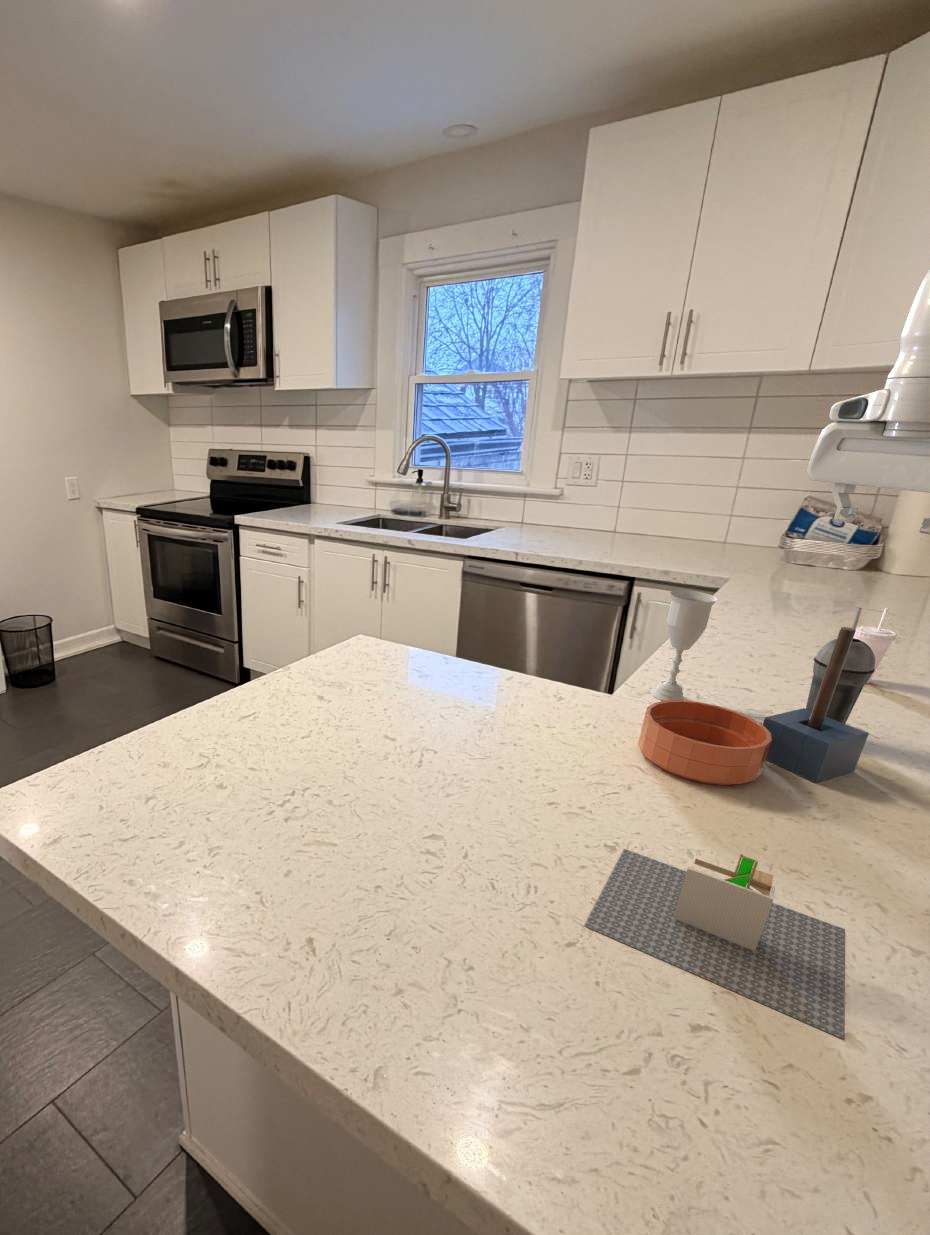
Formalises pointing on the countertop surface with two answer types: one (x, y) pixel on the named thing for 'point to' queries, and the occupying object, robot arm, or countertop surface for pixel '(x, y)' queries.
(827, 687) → the stick
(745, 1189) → the countertop surface
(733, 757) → the bowl
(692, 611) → the chalice
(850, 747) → the holder
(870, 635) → the smoothie
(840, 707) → the beverage cup
